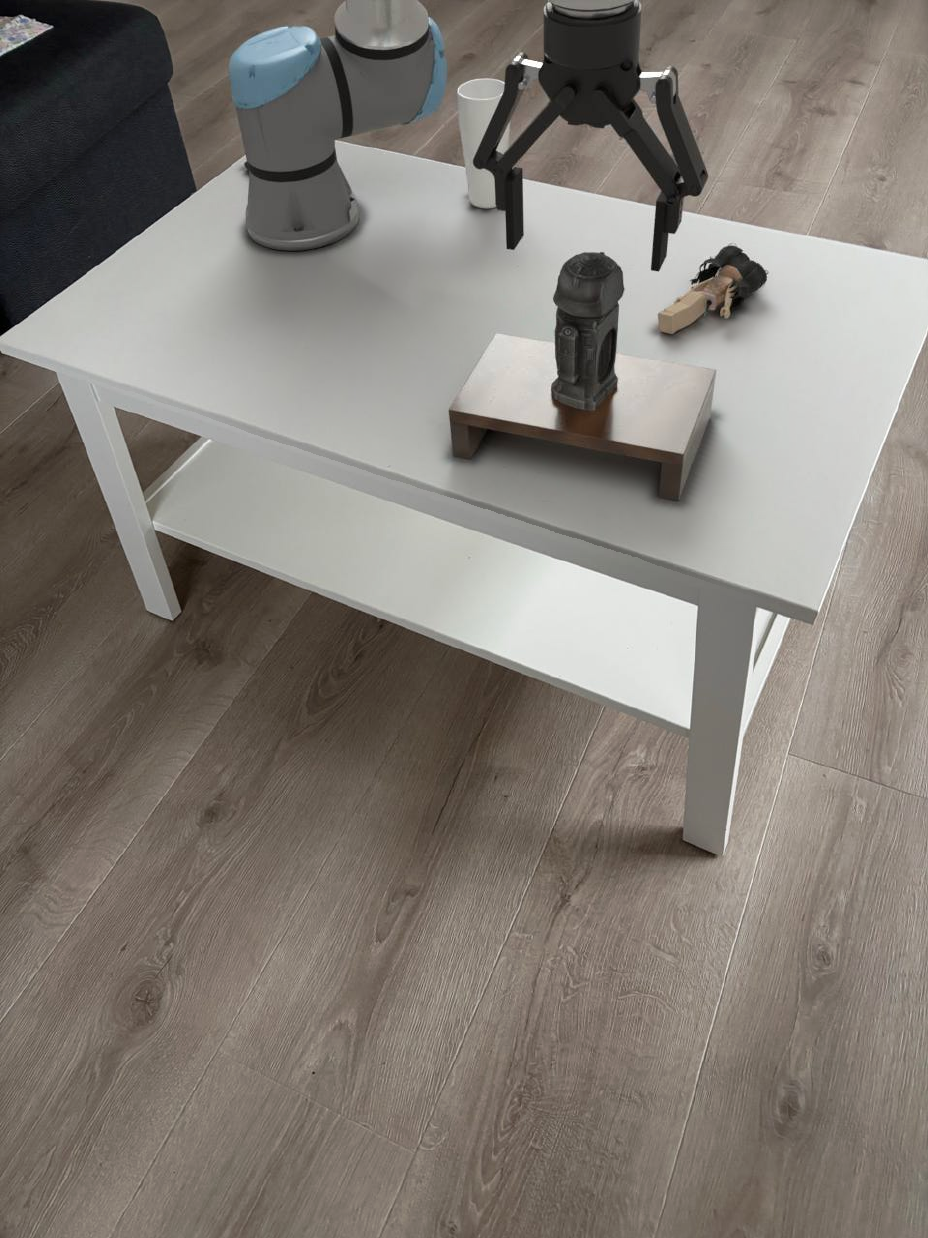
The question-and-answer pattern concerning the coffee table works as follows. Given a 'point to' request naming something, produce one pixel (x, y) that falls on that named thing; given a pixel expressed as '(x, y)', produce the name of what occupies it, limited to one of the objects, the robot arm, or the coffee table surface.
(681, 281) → the coffee table surface
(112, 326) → the coffee table surface
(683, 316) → the toy figure
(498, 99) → the drinking glass
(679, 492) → the shelf
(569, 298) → the toy
